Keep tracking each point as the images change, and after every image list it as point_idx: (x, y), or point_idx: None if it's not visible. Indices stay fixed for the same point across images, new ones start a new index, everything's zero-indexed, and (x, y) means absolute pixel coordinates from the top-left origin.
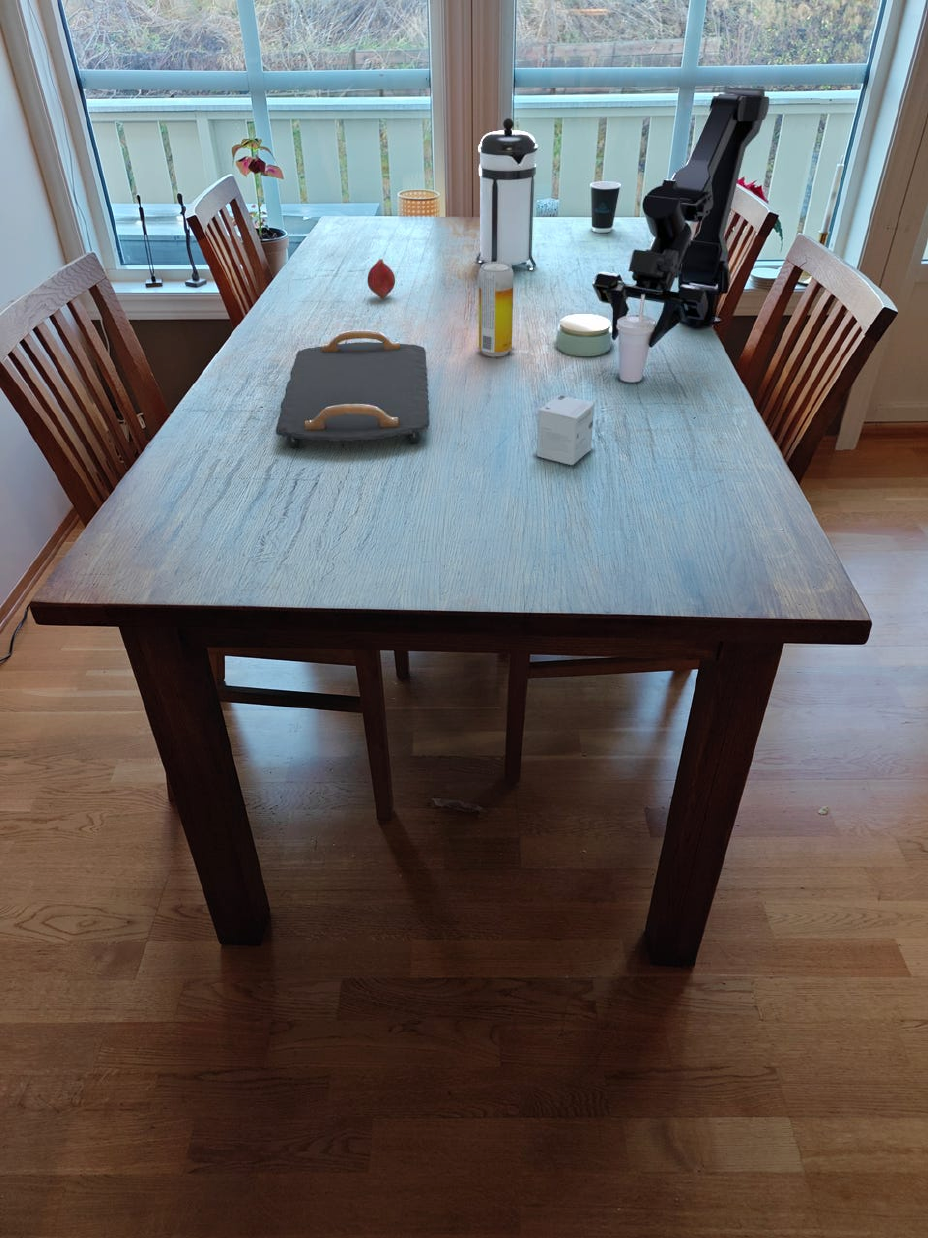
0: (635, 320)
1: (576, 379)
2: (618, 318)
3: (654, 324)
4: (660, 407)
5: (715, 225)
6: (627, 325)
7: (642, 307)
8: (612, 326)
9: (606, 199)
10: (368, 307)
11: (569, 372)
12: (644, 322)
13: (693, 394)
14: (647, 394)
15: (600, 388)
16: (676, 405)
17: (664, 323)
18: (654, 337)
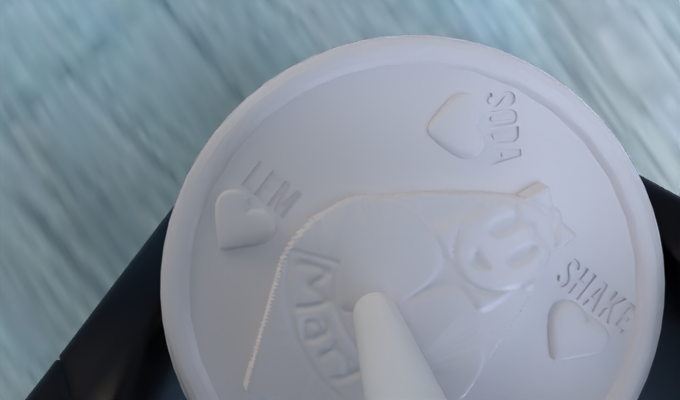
0: (433, 285)
1: (580, 43)
2: (672, 252)
3: (169, 337)
4: (59, 19)
5: None
6: (441, 110)
7: (368, 370)
8: (647, 179)
9: None
10: None
11: (661, 97)
12: (295, 294)
13: (15, 261)
14: (192, 114)
15: (417, 25)
16: (11, 90)
17: (35, 397)
18: (151, 240)
